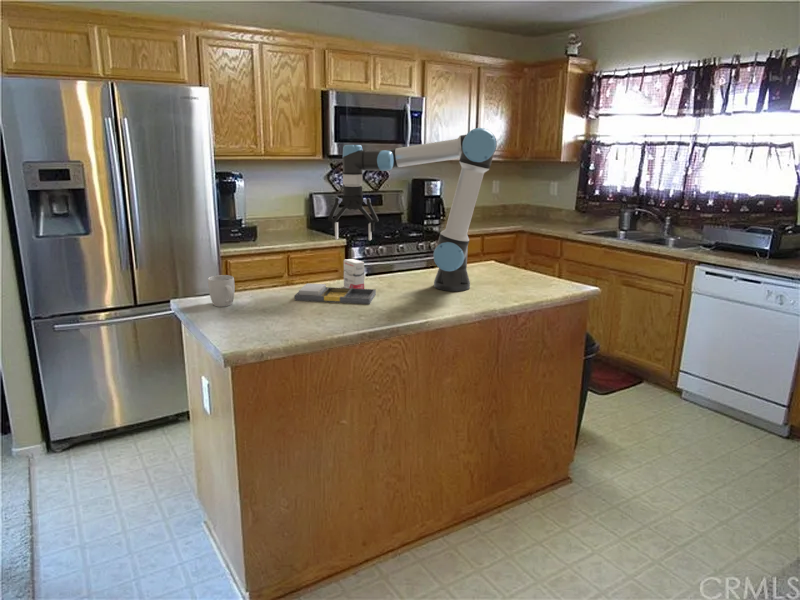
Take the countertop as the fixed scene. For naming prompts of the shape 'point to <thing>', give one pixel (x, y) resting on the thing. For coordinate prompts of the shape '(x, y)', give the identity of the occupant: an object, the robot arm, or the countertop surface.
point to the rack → (341, 296)
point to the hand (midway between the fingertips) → (353, 239)
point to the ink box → (353, 274)
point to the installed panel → (312, 289)
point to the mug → (221, 290)
